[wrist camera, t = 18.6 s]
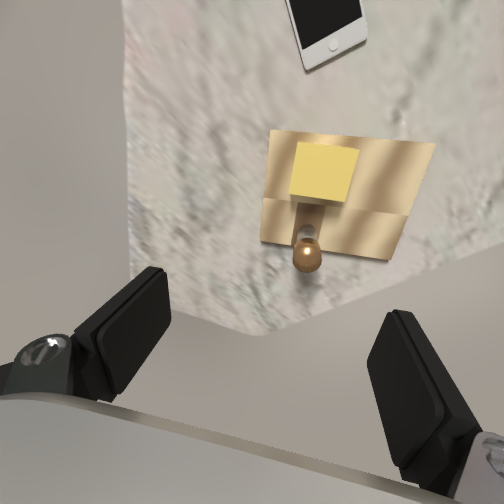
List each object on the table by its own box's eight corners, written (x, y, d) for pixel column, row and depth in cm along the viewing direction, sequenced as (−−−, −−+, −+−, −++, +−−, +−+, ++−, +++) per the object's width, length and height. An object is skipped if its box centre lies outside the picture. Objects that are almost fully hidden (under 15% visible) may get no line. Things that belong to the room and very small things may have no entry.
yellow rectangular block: (353, 147, 31) (359, 149, 27) (340, 195, 33) (344, 203, 30) (298, 141, 31) (297, 142, 28) (289, 188, 34) (288, 194, 31)
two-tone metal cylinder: (318, 221, 36) (321, 246, 28) (318, 242, 37) (322, 272, 29) (294, 223, 36) (291, 248, 28) (296, 243, 38) (293, 272, 30)
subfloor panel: (431, 143, 30) (436, 143, 29) (388, 256, 37) (390, 260, 36) (271, 129, 33) (270, 129, 31) (260, 237, 40) (259, 240, 39)
